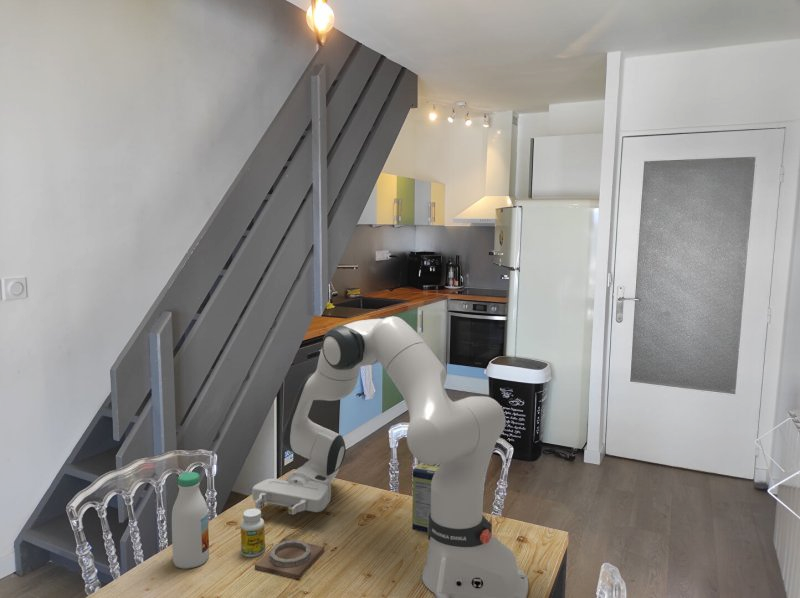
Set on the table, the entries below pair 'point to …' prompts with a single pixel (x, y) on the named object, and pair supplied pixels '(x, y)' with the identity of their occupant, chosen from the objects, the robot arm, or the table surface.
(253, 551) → the supplement bottle
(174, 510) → the milk bottle
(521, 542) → the table surface
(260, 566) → the collar board
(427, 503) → the protein box
